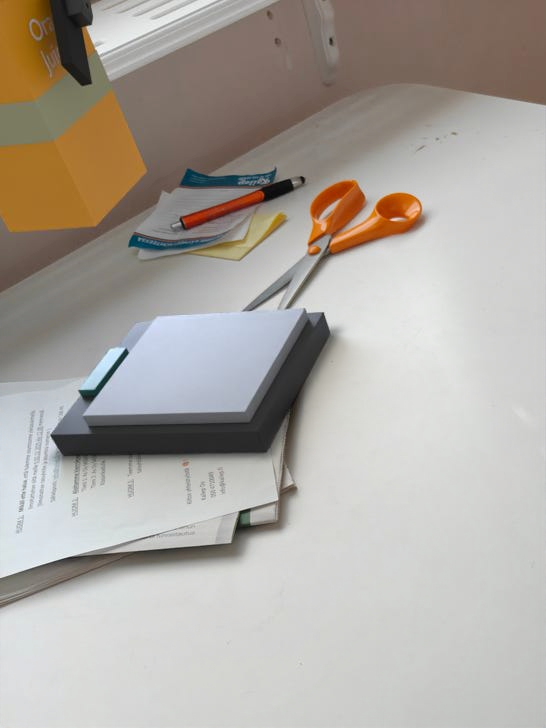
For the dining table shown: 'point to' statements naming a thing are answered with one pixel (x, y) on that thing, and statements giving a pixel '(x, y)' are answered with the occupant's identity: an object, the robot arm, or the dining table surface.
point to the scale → (195, 384)
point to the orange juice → (57, 130)
